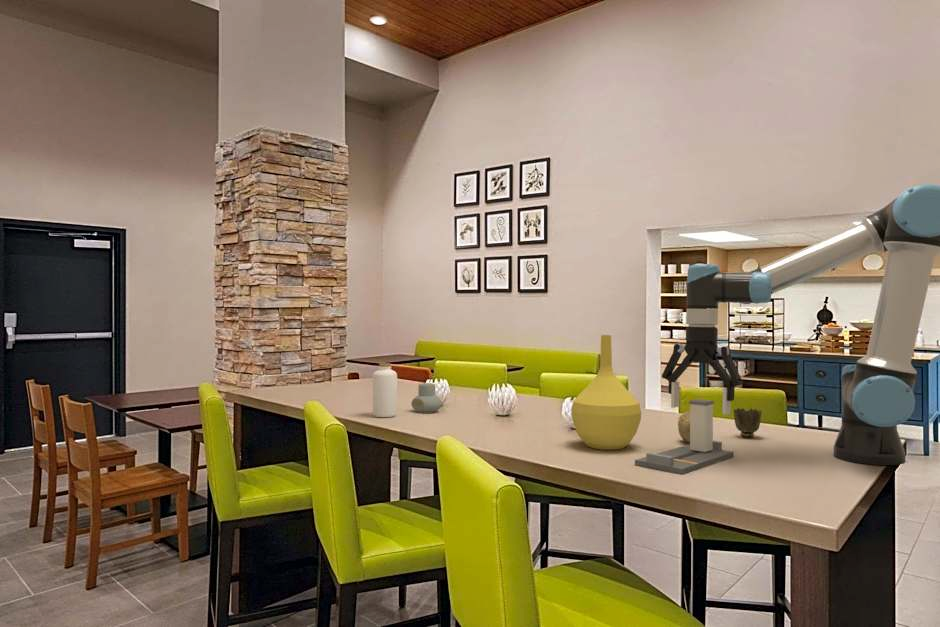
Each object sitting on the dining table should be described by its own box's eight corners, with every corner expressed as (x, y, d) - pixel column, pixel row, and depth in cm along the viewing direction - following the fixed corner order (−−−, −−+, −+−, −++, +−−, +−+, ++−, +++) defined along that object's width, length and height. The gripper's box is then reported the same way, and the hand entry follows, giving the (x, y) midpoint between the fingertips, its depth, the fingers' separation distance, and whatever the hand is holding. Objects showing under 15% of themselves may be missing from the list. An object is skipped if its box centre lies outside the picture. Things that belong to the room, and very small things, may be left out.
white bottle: (395, 418, 217) (395, 364, 217) (370, 418, 218) (370, 364, 217) (398, 414, 226) (398, 362, 226) (374, 414, 226) (374, 362, 226)
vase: (557, 446, 173) (558, 335, 173) (594, 436, 187) (595, 333, 187) (618, 457, 161) (619, 337, 161) (653, 446, 174) (653, 335, 174)
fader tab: (697, 447, 166) (697, 399, 166) (713, 449, 163) (714, 400, 163) (688, 449, 163) (689, 400, 163) (705, 452, 160) (705, 402, 160)
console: (688, 448, 170) (688, 436, 170) (733, 456, 162) (733, 443, 162) (634, 465, 152) (634, 451, 152) (682, 474, 144) (682, 460, 144)
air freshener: (408, 411, 233) (408, 383, 233) (426, 409, 239) (426, 381, 239) (427, 414, 225) (427, 386, 225) (445, 412, 231) (445, 384, 231)
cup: (733, 438, 184) (733, 410, 184) (733, 434, 191) (733, 407, 191) (762, 440, 182) (762, 412, 181) (760, 436, 188) (761, 408, 188)
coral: (727, 421, 174) (693, 405, 174) (710, 454, 175) (677, 439, 174) (714, 412, 183) (682, 398, 183) (699, 444, 184) (667, 430, 184)
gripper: (758, 327, 156) (756, 415, 156) (664, 324, 174) (662, 403, 174) (745, 327, 151) (743, 418, 151) (649, 324, 169) (647, 405, 169)
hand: (699, 410), depth 163 cm, fingers open, 13 cm apart
